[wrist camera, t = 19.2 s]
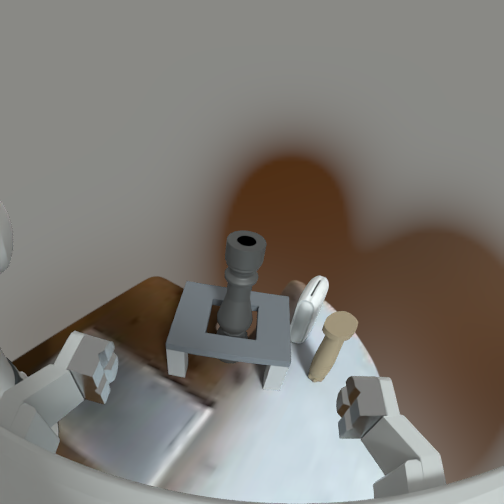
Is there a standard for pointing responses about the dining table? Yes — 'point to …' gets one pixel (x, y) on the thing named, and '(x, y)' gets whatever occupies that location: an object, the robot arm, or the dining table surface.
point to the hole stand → (225, 347)
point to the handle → (332, 343)
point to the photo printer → (308, 309)
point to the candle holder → (240, 283)
